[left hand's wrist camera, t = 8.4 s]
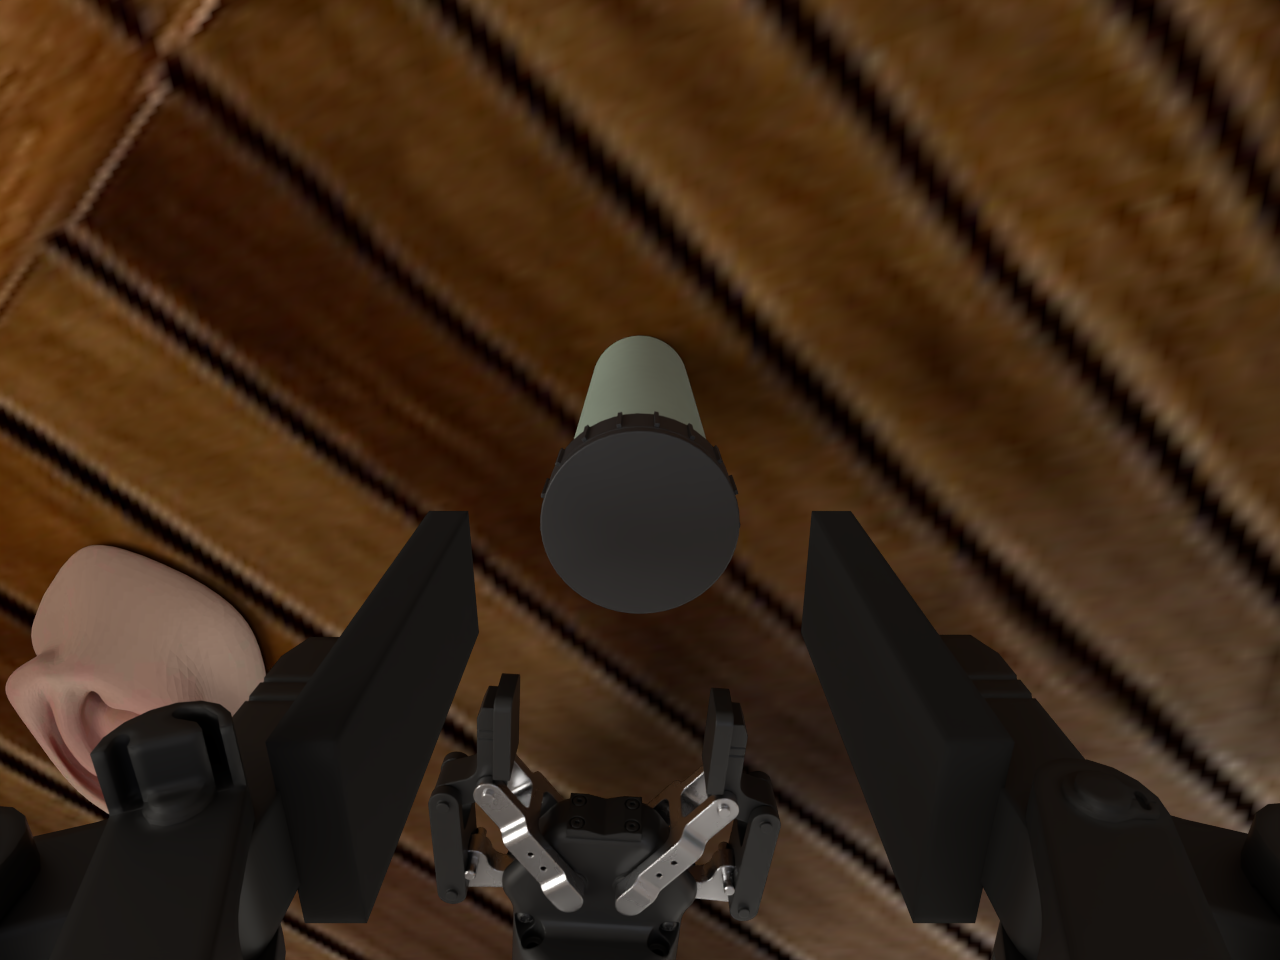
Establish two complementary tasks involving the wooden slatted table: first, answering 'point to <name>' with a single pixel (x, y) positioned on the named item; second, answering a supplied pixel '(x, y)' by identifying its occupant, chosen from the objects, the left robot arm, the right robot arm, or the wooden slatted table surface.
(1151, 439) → the wooden slatted table surface
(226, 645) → the anatomical model
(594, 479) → the lid
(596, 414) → the bottle
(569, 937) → the right robot arm
